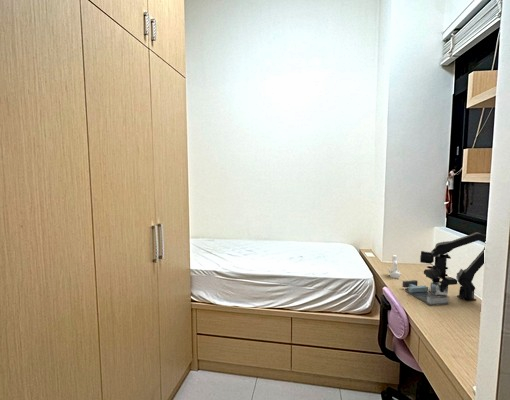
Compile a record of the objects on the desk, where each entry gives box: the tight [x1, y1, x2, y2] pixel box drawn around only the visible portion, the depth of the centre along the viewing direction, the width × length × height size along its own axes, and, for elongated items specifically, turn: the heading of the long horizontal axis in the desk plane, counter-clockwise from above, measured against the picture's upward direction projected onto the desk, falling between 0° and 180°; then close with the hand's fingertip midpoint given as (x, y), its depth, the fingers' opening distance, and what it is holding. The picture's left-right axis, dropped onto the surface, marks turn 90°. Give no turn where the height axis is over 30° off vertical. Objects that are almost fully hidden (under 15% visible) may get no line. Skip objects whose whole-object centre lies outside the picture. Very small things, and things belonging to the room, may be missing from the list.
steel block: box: [429, 281, 449, 296], centre depth 167 cm, size 8×4×6 cm, turn 99°
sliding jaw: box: [402, 279, 429, 293], centre depth 172 cm, size 11×9×4 cm
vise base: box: [405, 288, 450, 307], centre depth 163 cm, size 11×20×4 cm, turn 9°
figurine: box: [387, 254, 402, 279], centre depth 195 cm, size 7×9×15 cm
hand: (439, 290), depth 168 cm, fingers closed on steel block, 4 cm apart
